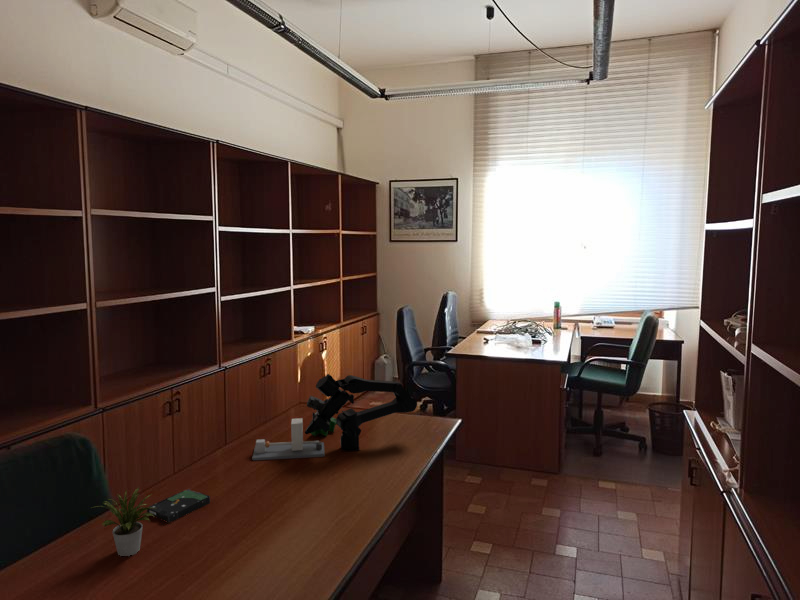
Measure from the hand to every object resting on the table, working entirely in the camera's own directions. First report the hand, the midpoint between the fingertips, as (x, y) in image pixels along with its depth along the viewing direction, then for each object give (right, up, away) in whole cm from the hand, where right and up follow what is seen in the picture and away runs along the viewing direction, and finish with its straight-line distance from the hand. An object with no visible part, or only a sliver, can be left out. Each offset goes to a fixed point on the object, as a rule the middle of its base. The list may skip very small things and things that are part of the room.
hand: (305, 433), depth 216 cm
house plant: (-35, -15, -68) cm, 78 cm away
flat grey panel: (-6, -7, 0) cm, 9 cm away
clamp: (+5, -5, +21) cm, 22 cm away
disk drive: (-31, -13, -44) cm, 55 cm away
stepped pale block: (-3, -6, 0) cm, 6 cm away
